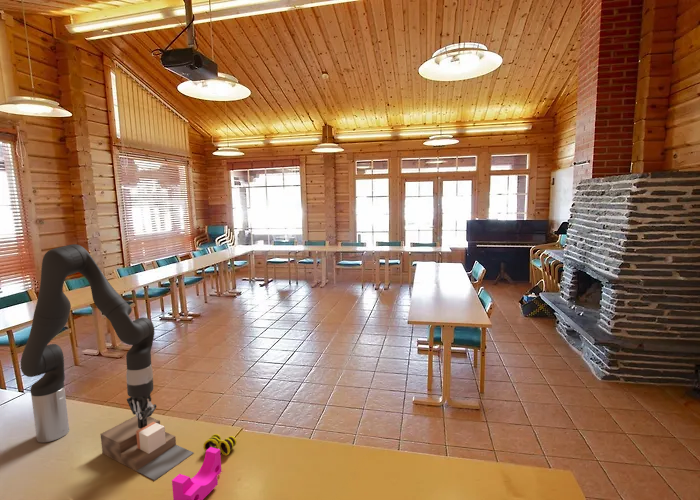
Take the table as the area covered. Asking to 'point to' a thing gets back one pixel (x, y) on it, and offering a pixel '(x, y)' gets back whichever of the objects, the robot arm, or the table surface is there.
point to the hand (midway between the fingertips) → (142, 427)
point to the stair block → (124, 450)
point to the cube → (151, 437)
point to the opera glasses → (220, 444)
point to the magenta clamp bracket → (199, 479)
